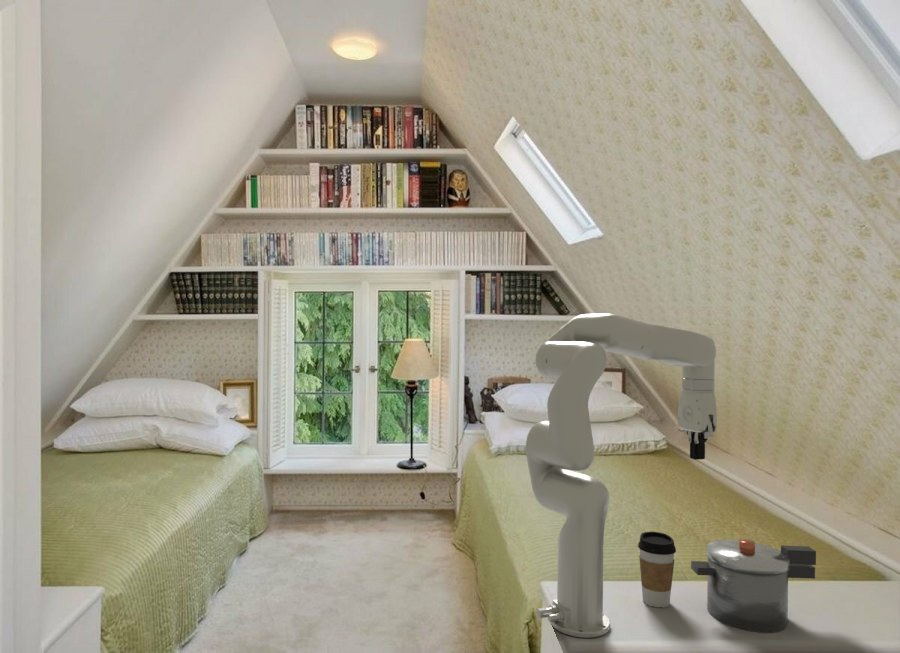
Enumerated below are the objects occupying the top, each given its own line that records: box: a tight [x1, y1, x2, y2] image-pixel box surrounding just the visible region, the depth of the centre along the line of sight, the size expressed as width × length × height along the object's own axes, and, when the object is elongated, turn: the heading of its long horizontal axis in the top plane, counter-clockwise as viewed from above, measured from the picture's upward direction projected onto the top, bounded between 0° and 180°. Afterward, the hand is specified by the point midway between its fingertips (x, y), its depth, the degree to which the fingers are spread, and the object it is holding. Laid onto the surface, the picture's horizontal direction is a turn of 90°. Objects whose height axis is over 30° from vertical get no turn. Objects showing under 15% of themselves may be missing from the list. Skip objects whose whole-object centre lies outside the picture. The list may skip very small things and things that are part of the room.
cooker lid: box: [705, 538, 817, 574], centre depth 133 cm, size 22×17×4 cm
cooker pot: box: [690, 557, 816, 634], centre depth 133 cm, size 26×16×12 cm, turn 88°
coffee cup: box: [637, 531, 677, 608], centre depth 139 cm, size 8×8×15 cm
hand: (697, 458), depth 151 cm, fingers closed
